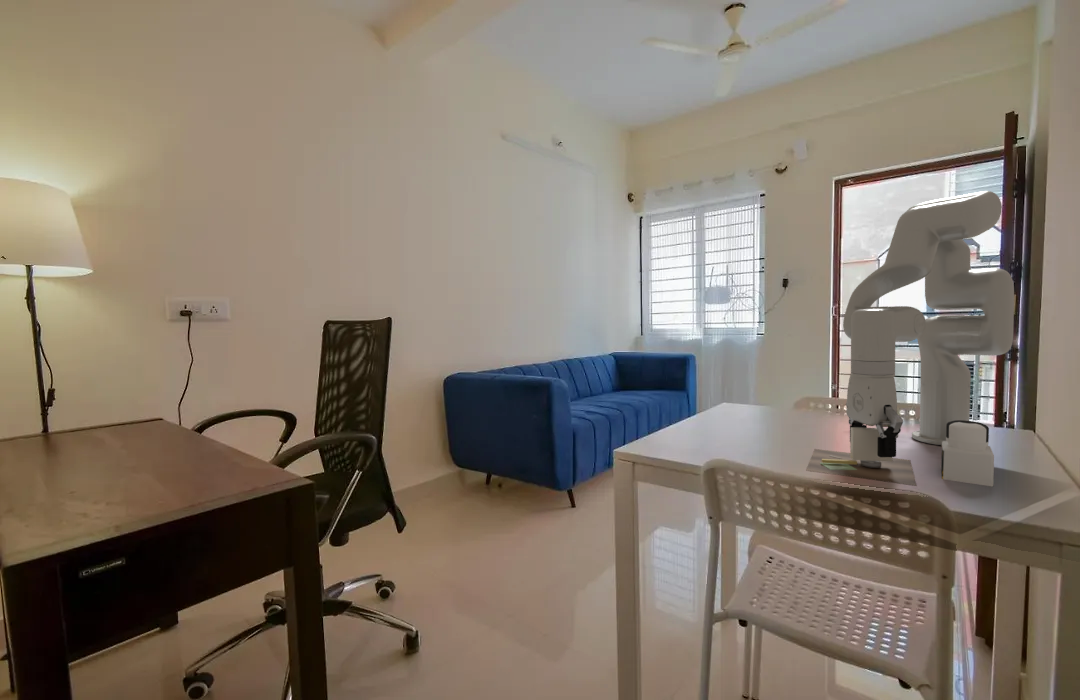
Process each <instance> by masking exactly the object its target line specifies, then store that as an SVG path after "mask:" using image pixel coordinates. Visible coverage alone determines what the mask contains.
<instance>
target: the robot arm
mask: <svg viewBox="0 0 1080 700" xmlns="http://www.w3.org/2000/svg"><path fill="white" fill-rule="evenodd" d="M1002 206H1003V205H1002V201H1001V199H1000V197H999V196H998V194H997V193H996V192H994V191H990V190H984V191H978V192H970V193H968V194H967V193H966V194H963V195H962V194H961V195H960V194H959V195H956V196H949V197H943V198H939V199H933V200H929V201H924V202H921V203H918V204H915V205H913V206H910V207H909V208H908V209H907V210H906V211H905V212H904V213H902V214H901V215H900V216H899V218H898V220H897V223H896V226H895V229H894V232H893V235H892V238H891V241H890V244H889V248H888V251H887V254H886V258H885V260H884V263H883V264H882V265H881V266H879V268H877V269H876V270H874V271H873V272H871V273H870V274H869V275H868V276H867V277H865V279H863V280H862V281H861V282H860V283H859V284H858V285H857V286H856V288H854V290H853V291H852V293H851V295H850V298H849V300H848V303H847V306H846V309H845V312H844V316H843V323H842V329H843V331H844V334H845V335H846V336H847V338H848V339H850V375H849V379H848V385H847V392H846V403H845V405H846V409H845V411H846V415H847V417H848V425H849V434H850V433H851V427H859V428H868V427H869V426H870V427H874V426H875V428H877V430H878V432H879V435H880V437H878V449H877V455H878V456H879V457H892V458H897V439H898V438H899V433H901V430H902V429H901V428H902V426H903V423H904V419H903V418H902V417H901V416H900V414H899V413H898V398H897V395H898V394H897V388H896V387H897V385H896V381H895V377H896V343H906V342H907V343H908V342H912V341H915V340H917V344H918V349H919V355H920V356H919V358H920V400H919V430H915V431H913V432H912V433H911V438H913V439H914V440H916V441H919V442H922V443H925V444H930V445H937V446H942V442H943V441H946V424H947V423H948V422H951V421H955V420H965V421H970V411H971V410H970V409H971V406H970V405H971V381H972V379H971V378H972V377H971V376H972V375H971V371H970V369H969V367H968V365H967V364H966V363H965V362H964V361H963V359H961V358H960V357H959V356H960V355H961V356H964V355H965V356H966V355H967V356H968V355H969V356H970V355H971V356H1001V355H1004V354H1006V353H1008V352H1009V351H1010V350H1011V347H1012V345H1013V341H1014V324H1015V323H1014V322H1015V321H1014V318H1015V317H1014V315H1015V312H1014V310H1015V308H1014V307H1015V286H1014V280H1013V277H1012V276H1011V274H1010V273H1009V272H1008V271H1007V270H1005V269H1003V268H999V267H998V268H996V267H990V268H976V269H972V268H971V248H970V246H969V245H968V244H967V242H965V240H966V239H972V238H975V237H977V236H980V235H982V234H983V233H985V232H987V231H989V230H990V229H992V228H993V227H994V226H995V225H997V223H998V221H1000V217H1001V216H1002V210H1003V207H1002ZM923 279H924V298H925V303H926V305H927V306H928V307H929V308H930V309H933V310H938V311H961V310H963V311H965V310H967V311H968V310H970V311H971V310H972V311H973V310H980V311H982V312H983V313H984V315H983V314H981V315H978V314H977V315H974V314H970V315H964V314H963V315H961V314H960V315H959V314H957V315H953V314H951V315H936V316H930V317H927V318H925V314H923V312H922V311H921V310H919V309H918V308H917V307H912V306H907V305H906V306H905V305H904V306H903V305H902V306H901V305H899V306H897V305H895V306H872V305H874V304H875V302H877V300H879V299H880V298H882V297H883V296H885V295H887V294H889V293H891V292H894V291H896V290H899V289H901V288H903V287H906V286H908V285H911V284H914V283H916V282H918V281H920V280H923ZM867 426H868V427H867ZM884 428H887V429H886V430H884Z"/></svg>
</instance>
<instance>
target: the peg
mask: <svg viewBox="0 0 1080 700" xmlns="http://www.w3.org/2000/svg"><path fill="white" fill-rule="evenodd" d="M883 428H884V430H886V429H887V428H888V427H883ZM878 437H880V435H879V432H878V430H877V428H876V427H867V428H859V427H851V433H850V432H849V442H850V446H849V447H850V448H849V449H850V451H849V453H850V457H851V458H852V459H853V460H837V459H822V462H823V463H838V464H857V461H856V460H860V464H861V465H863V466H866V467H871V468H880V467H881V462H879V461H888V462H892V458H893V457H879V456H878V455H877V449H878Z"/></svg>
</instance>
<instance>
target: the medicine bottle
mask: <svg viewBox="0 0 1080 700" xmlns="http://www.w3.org/2000/svg"><path fill="white" fill-rule="evenodd" d="M989 433H990V427H989V426H988V425H986V424H984V423H982V422H979V421H973V420H969V421H965V420H955V421H951V422H948V423H947V424H946V441H943V442H942V445H941V454H940V455H941V459H940V461H941V462H940V463H941V464H940V466H941V467H940V471H941V472H940V473H941V479H942V480H945V481H952V482H959V483H967V484H973V485H978V486H979V485H980V486H985V487H993V486H994V473H995V472H994V471H995V454H994V453H993V450H992V448H991V446H990V445H989V438H990V434H989Z"/></svg>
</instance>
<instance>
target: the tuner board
mask: <svg viewBox="0 0 1080 700" xmlns="http://www.w3.org/2000/svg"><path fill="white" fill-rule="evenodd" d="M822 459H837V460H853V459H852V458H851V457H850V452H845V451H837V450H826V449H818V448H814V450H813V452H812V454H811V456H810V460H809V461H808V464H807V467H806V469H805V471H807V472H814V473H821V474H828V475H837V476H840V477H841V476H842V477H850V478H857V479H864V480H871V481H878V482H885V483H886V482H887V483H892V484H898V485H899V484H900V485H908V486H913V487H917V485H918V484H917V483H916V482H917V481H916V477H915V474H914V470H913V469H914V468H913V466H912V461H911V459H908V458H907V459H905V458H897V457H892V462H888V461H879V462H881V467H880V468H871V467H866V466H863V465H861V464H860V460H856V461H857V464H838V463H823V462H822Z"/></svg>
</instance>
